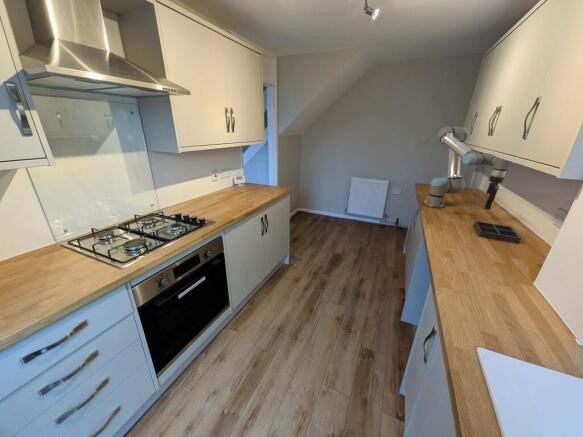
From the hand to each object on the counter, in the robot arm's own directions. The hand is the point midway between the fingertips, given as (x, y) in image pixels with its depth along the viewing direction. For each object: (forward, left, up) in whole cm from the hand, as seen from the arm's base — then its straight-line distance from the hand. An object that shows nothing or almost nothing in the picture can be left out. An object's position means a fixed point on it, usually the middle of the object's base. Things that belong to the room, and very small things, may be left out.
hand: (485, 207), depth 172 cm
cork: (0, 0, 0) cm, 1 cm away
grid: (+27, +2, -9) cm, 29 cm away
